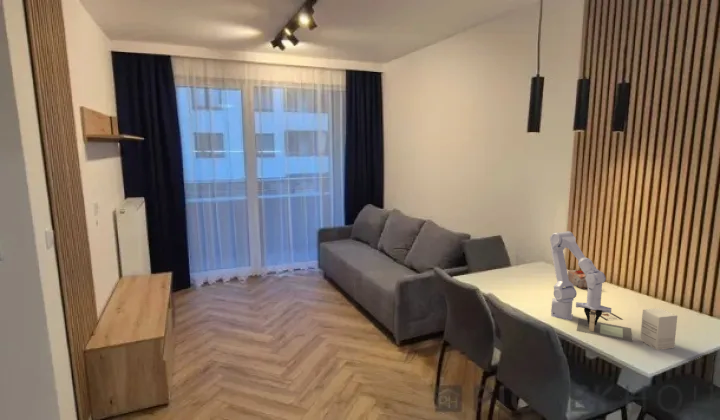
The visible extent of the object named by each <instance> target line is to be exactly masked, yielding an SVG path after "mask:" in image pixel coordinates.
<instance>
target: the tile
mask: <svg viewBox="0 0 720 420" xmlns="http://www.w3.org/2000/svg"><path fill="white" fill-rule="evenodd" d="M595 313H596V312H595V311H592V310H591V311H590V322H589V331H593V332H594V327H595V318H596V314H595Z"/></svg>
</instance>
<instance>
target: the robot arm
mask: <svg viewBox="0 0 720 420" xmlns="http://www.w3.org/2000/svg"><path fill="white" fill-rule="evenodd" d="M576 240H577V238H576V236H574V234H573V232H571V231H570V230H567V231H562V232H561V231H560V232H553V233H552V234H551V235H550V237H549V241H550V252H551V259H552V262H553V269H554V272H555V278H556V283H555V284H554V285H553V298H552V300H551V308H550V312H551V313H550V317H551V318H552V317H553V318H559V319H563V320H567V321H568V320H569V321H573V316H574V314H572V313H573V301H574V299H576V297H577V290H576V287H575V286H574V285H573V284H572V283H571V282H570V281H569V279H568V269H567V264H566V260H565V254H564V250H565V249H568V250H569V251H570V252H571V253H572V254H573V256H574V257H575V258H576V260H577V261H578V263H577V265H578V267H579V268H580V269H581V271H583V272H584V274H585V275H586V277H585V279H586V282H587V286H588V288H587V294H586V295H587V296H586V302H575V308H580V309H582V308H583V312H584V315H585V316H586V320H588V324H589V322H590V309H591V310H596V314H595V325H596V324H597V322H599V319H600V318H601V317H600V316H601V315H602V311H604V312H608V313H612V307H609V306H604V305H601V303H602V302H601V301H602V293H603V292H602V291H603V284H604V283H606V280H607V279H606V275H605V273H604V272H603V271H601V270H600V269H598V268H596V266H595V263H593V261H592V259H590V258H588V257H586V256H585V255H584V252H583V251H582V250H581V248H580V247H579V244H578V243H577V241H576Z"/></svg>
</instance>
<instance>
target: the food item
mask: <svg viewBox="0 0 720 420" xmlns="http://www.w3.org/2000/svg"><path fill="white" fill-rule="evenodd" d="M567 274H568V279H569V281H570V282H571V283H572V284H573V285H574V287H577V288H579V289H588V286H587V282H586V279H585V277H586V275H585V274H584V272H583V271H582V270H580V269H578V270H576V269H572V270H567Z"/></svg>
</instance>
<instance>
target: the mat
mask: <svg viewBox="0 0 720 420" xmlns="http://www.w3.org/2000/svg"><path fill="white" fill-rule="evenodd" d="M576 332H580V333H585V334H586V333H587V334H590V335H595V336H601V337H605V338H610V339H615V340H619V341H625V342H630V343H633V334H632V328H631V327H627V326H622V325H617V324H611V323H606V322H601V321H597V324H596V325H595V327H594V332H593V331H589V324H588V320H587V319H584V318H578V321H577V327H576Z"/></svg>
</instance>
